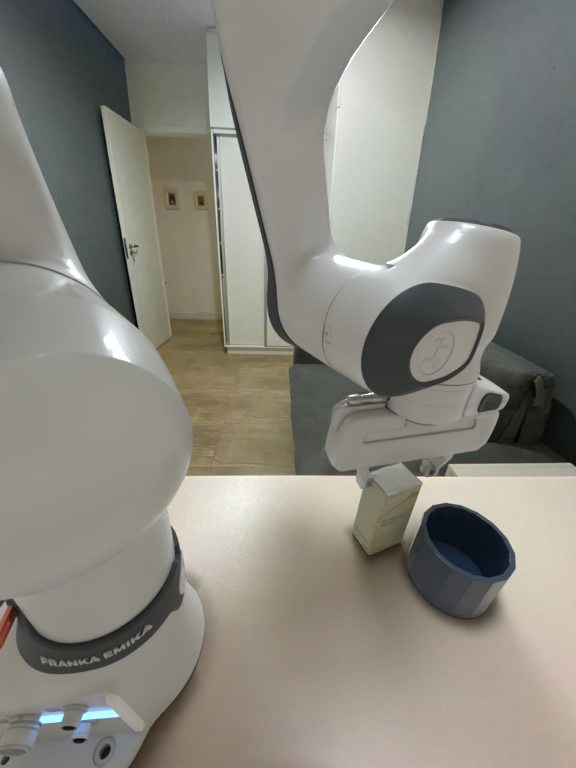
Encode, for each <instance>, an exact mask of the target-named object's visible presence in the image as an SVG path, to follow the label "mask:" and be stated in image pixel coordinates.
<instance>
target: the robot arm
mask: <svg viewBox="0 0 576 768" xmlns="http://www.w3.org/2000/svg"><path fill="white" fill-rule="evenodd" d="M394 2H395V0H210V5H211V10H212V14H213V20H214V24H215V31H216V36H217V42H218V46H219V53H220V59H221V65H222V69H223V74H224V81H225V86H226V91H227V97H228V102H229V108H230V112H231V117H232V122H233V126H234V131H235V135H236V139H237V143H238V149H239V151H240V152H239V153H240V155H241V156H240V157H241V160H242V164H243V168H244V172H245V175H246V179H247V185H248V188H249V192H250V196H251V200H252V203H253V208H254V212H255V216H256V219H257V225H258V228H259V232H260V235H261V236H260V237H261V239H262V244H263V249H264V254H265V260H266V273H267V274H266V277H267V279H266V308H267V316H268V319H269V322H270V325H271V327H272V329H273V330H274V332H275V334H276V335H277V336H278V337H279V338H280V339H281V340H282V341H284V342H285V343H286V344H289V345H290V346H293V347H294V348H297V349H299V350H301V351H303V352H305V353H307V354H309V355H311V356H312V357H314V358H315V359H316V360H318V361H320V362H321V363H323V364H324V365H326V366H328V367H329V368H331V369H332V370H333V371H336V373H339V374H341V375H342V376H344V378H345V377H346V378H347V379H348V380H350V381H352V382H353V383H355V384H356V385H358V386H360V388H363V389H365V390H367V391H369V393H363V394H359V393H354V394H349V395H346V397H345V399H342V400H340V401H339V402H337V403H336V404H334V405H333V407H332V408H331V415H330V425H329V428H328V432H327V434H326V439H325V444H324V449H325V453H326V456H327V458H328V461H329V462H330V464H331V465H332V466H333V468H335V469H336V470H337V471H338V472H348V471H354V470H356V475H355V482H356V484H357V485H358V487H359V489H360V490H363V488H368V487H372V483H373V481H374V478H373V476H372V475H371V474H370V472H371V471H370V468H372V467H373V468H374V467H379V466H385V465H386V466H388V465H393V464H396V463H399V462H401V463H404V462H411V461H418V460H421V462H420V466H419V471H420V472H421V474H423V476H424V478H433V477H437V476H438V474H439V472H440V469H441V468H442V467H443V466H445V465H446V464H447V463H448V462H449V461H450V460H451V459H453V457H454V455H456V454H463V453H468V452H475V451H478V450H479V449H480V448H482V447H483V446H484V445H485V444H487V442H488V440H490V437H491V435H492V433H493V431H494V430H495V427H496V424H497V422H498V419H499V417H500V412H499V411H501V410H503V409H504V408H505V407H506V405H507V403H508V401H509V399H510V394H509V393H508V392H507V391H505V390H504V389H503V388H501V387H500V386H498V385H497V384H496V383H494V382H492V381H491V380H489V379H488V378H486V377H484V376H483V375H481V374H480V373H481V362H482V356H483V354H484V352H485V350H486V348H487V347H488V345H489V344H490V343H491V342H492V340H493V339H494V337H495V336H496V334H497V332H498V330H499V326H500V324H501V322H502V319H503V316H504V313H505V310H506V308H507V306H508V302H509V299H510V296H511V293H512V289H513V285H514V282H515V278H516V275H517V270H518V265H519V259H520V254H521V247H522V246H521V243H522V241H521V240H522V239H521V237H520V236H519V235H518V234H517V233H516V232H514V230H513V229H511V228H509V227H507V226H504V225H502V224H498V223H494V222H490V221H488V222H487V221H481V220H479V219H472V218H463V217H442V218H439V219H433V220H431V221H429V222H428V223H426V225H425V227H424V229H423V230H422V232H421V235H420V237H419V240H418V242H417V243H416V244H415V245H414V246H413V247H411V248H410V249H409V250H408V251H406V252H405V253H403V254H402V255H400V256H398V257H396V258H395V259H392V260H389V261H387V262H386V263H385V264H377V263H373V262H368V261H362V260H358V259H354V258H350V257H349V256H347V255H346V254H345V253H343V251H342V250H340V248H339V247H338V245H337V244H336V242H335V241H334V238H333V236H332V231H331V222H330V210H329V209H330V208H329V197H328V196H329V195H328V185H327V184H328V183H327V172H326V171H327V169H326V161H325V129H326V123H327V118H328V113H329V110H330V106H331V102H332V100H333V97H334V95H335V92H336V90H337V88H338V86H339V83H340V81H341V79H342V78H343V76H344V74H345V73H346V70H347V68H348V67H349V65H350V63H351V62H352V60H353V58H354V56H355V55H356V53H357V52H358V50H359V49H360V47H361V46H362V45H363V43H364V41H365V40H366V39H367V37H368V36H369V35H370V34H371V32H372V31H373V30H374V28H376V27H375V26H377V24H378V23H379V21H380V20H381V19H382V17H384V15H385V13H386V12H387V11H388V9H390V7H391V5H392V4H393V3H394ZM5 75H6V74H5V73H4V70H3V69H2V67H1V65H0V768H129V767H130V765H132V763H133V761H134V759H135V758H136V756H137V755H138V753H139V751H140V750H141V747H142V746H143V744H144V741H145V739H146V738H147V735H148V734H149V732H150V729H151V728H152V727H153V725H154V724H155V722H156V721H157V720H158V718H160V716H161V715H162V714H163V713H164V712H165V711H166V710H167V709H168V707H170V705H171V704H172V703H173V702H174V701H175V699H177V697H178V696H179V695H180V693H181V692H182V690H183V689H184V687H185V686H186V685H187V683H188V681H189V680H190V678H191V676H192V674H193V672H194V670H195V667H196V666H197V663H198V660H199V658H200V655H201V652H202V648H203V644H204V638H205V629H206V621H205V620H206V618H205V611H204V607H203V603H202V600H201V598H200V596H199V594H198V592H197V591H196V589H195V588H194V587H193V585H191V584H190V582H188V581H187V569H186V564H185V558H184V554H183V550H182V549H181V544H180V541H179V538H178V534H177V532H176V530H175V529H174V527H173V525H172V524H171V521H170V515H169V511H168V510H169V509H168V507H169V506H170V504H171V502H172V501H173V499H174V498H175V496H176V495H177V493H178V491H179V490H180V488H181V486H182V484H183V482H184V481H185V478H186V475H187V473H188V470H189V468H190V464H191V461H192V456H193V450H194V429H193V423H192V420H191V416H190V414H189V411H188V409H187V406H186V404H185V401H184V399H183V397H182V395H181V392H180V391H179V388H178V387H177V385H176V382H175V380H174V378H173V376H172V374H171V372H170V370H169V369H168V367H167V365H166V364H165V361H164V360H163V358H162V357H161V355H160V353H159V351H158V350H157V348H156V347H155V345H154V344H153V342H152V341H151V340H150V339H149V337H147V336H146V335H145V334H144V332H142V331H141V330H140V329H139V328H138V327H136V326H135V325H134V324H133V323H132V322H130V321H129V320H128V319H127V318H126V317H125V316H124V315H122V314H121V313H120V312H119V311H118V310H117V309H115V308H114V307H113V306H112V305H110V304H109V303H108V302H107V301H106V299H105V298H104V297H103V296H102V295H101V294H100V292H99V291H98V289H96V286H94V284H93V283H92V281H91V280H90V278H89V276H88V275H87V273H86V271H85V269H84V268H83V264H82V263H81V261H80V259H79V256H78V254H77V252H76V250H75V248H74V245H73V243H72V241H71V238H70V236H69V234H68V232H67V229H66V227H65V225H64V222H63V220H62V218H61V216H60V213H59V210H58V207H57V206H56V203H55V201H54V198H53V197H52V194H51V192H50V190H49V187H48V185H47V182H46V180H45V177H44V176H43V173H42V170H41V167H40V165H39V163H38V160H37V158H36V155H35V153H34V150H33V148H32V145H31V143H30V140H29V138H28V134H27V133H26V130H25V127H24V125H23V122H22V119H21V116H20V114H19V111H18V109H17V106H16V103H15V99H14V96H13V93H12V91H11V88H10V85H9V83H8V80H7V78H6V76H5ZM108 747H110V751H109V753H108V755H107V756H106V757H105V758H102V755H103V752H104V751H105V750H106V748H108Z"/></svg>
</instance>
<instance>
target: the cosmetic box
mask: <svg viewBox="0 0 576 768" xmlns="http://www.w3.org/2000/svg"><path fill="white" fill-rule="evenodd" d="M370 474H371V475H372V476H373V478H374V481H373V483H372V487H368V488H363V489H361V490H362V491H361V495H360V499H359V502H358V505H357V506H358V507H357V510H356V514H355V518H354V521H353V522H354V523H353V526H352V534H353V535H354V536H355V538H356V540H357V541H358V543H359V544H360V545H361V547H362V549H363V550H364V551H365V553H366V554H367V555H368V556H372V555H374V554H377V553H379V552H382V551H383V550H386V549H388V548H391V547H393V546H396V545H398V544H399V543H402V540H403V538H404V535H405V532H406V529H407V527H408V525H409V521H410V519H411V516H412V513H413V510H414V508H415V505H416V502H417V500H418V497H419V494H420V492H421V489H422V486H423V485H424V484H423V481H422V480H420V478H418V476H416V475H415V474H414V473H413V471H412V470H411V469H410V468H408V467H407V466H406V465H405V464H404V462H399V463H393V464H389V465H386V466H382V467H381V468H377V469H374V470H372V471H370Z"/></svg>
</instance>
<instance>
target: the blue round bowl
mask: <svg viewBox="0 0 576 768" xmlns="http://www.w3.org/2000/svg"><path fill="white" fill-rule="evenodd" d="M516 563H517V561H516V553H515V550H514V548H513V547H512V544H511V543H510V540H509V538H508V537H507V536H506V535H505V534H504V533H503V532H502V531H501V530H500V529H499V528H498V526H497V525H496V524H495V523H494V522H493V521H491V520H490V519H488V518H486V517H485V516H484V515H482V514H481V513H479V512H478V511H476V510H474V509H471V508H469V507H467V506H464V505H461V504H457V503H452V502H451V503H450V502H442V503H435V504H432V505H431V506H429V508H427V509H426V510H425V511H424V512H423V514H422V516H421V518H420V521H419V524H418V525H417V529H416V531H415V533H414V536H413V538H412V541H411V543H410V546H409V549H408V552H407V556H406V568H407V572H408V575H409V577H410V580H411V582H412V584H413V585H414V586H415V588H416V589H417V591H418V592H419V593H420V595H421V596H422V597H423V598H424V599H425V600H426V601H427V602H428V603H429V604H430V605H432V606H433V607H435V608H436V609H437V610H439V611H440V612H442V613H445V614H446V615H449V616H451V617H455V618H458V619H474V618H478V617H480V616H481V615H482V614H484V613H486V611H487V609H488V608H489V607H490V605H491V604H492V602H493V601H494V600H495V599H496V597H497V596H498V595H499V593H500V591H501V590H502V589H503V588H504V586H505V585H506V583H507V582H508V580H509V579H511V576H512V575H513V574H514V573H515V571H516V569H517V565H516Z"/></svg>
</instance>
